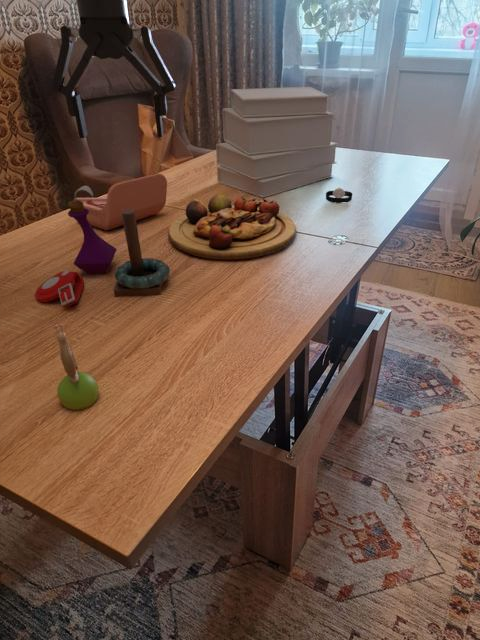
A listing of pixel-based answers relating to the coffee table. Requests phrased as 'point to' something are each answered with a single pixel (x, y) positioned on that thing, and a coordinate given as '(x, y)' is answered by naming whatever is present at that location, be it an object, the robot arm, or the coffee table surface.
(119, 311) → the coffee table surface
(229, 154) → the book stack
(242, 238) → the wooden plate
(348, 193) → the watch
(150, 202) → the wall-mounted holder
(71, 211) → the perfume bottle
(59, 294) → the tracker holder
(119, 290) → the rack
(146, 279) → the ring
